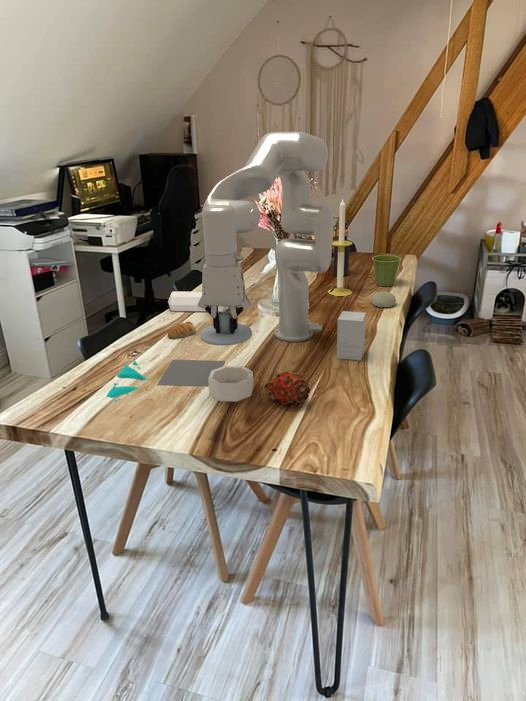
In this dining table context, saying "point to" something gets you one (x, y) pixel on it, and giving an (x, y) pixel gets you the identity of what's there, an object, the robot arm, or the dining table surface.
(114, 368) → the dining table surface
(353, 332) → the supplement box
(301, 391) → the dragon fruit
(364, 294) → the dining table surface
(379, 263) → the plant pot
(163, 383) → the mat
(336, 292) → the candle
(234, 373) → the bowl
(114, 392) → the cloth
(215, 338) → the lid
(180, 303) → the crystal
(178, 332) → the pastry
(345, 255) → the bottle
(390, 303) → the sea urchin shell
